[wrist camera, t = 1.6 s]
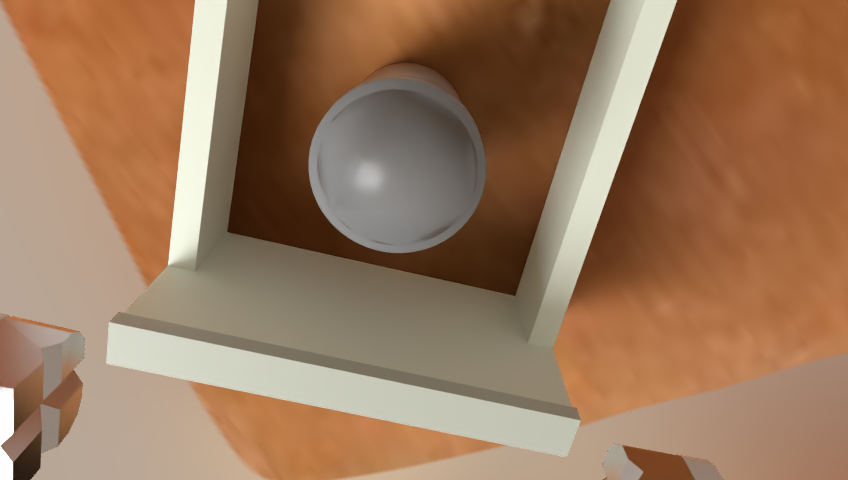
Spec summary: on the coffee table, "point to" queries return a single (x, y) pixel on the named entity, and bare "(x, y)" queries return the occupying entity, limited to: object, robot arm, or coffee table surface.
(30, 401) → the robot arm
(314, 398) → the frame
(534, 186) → the coffee table surface
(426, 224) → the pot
